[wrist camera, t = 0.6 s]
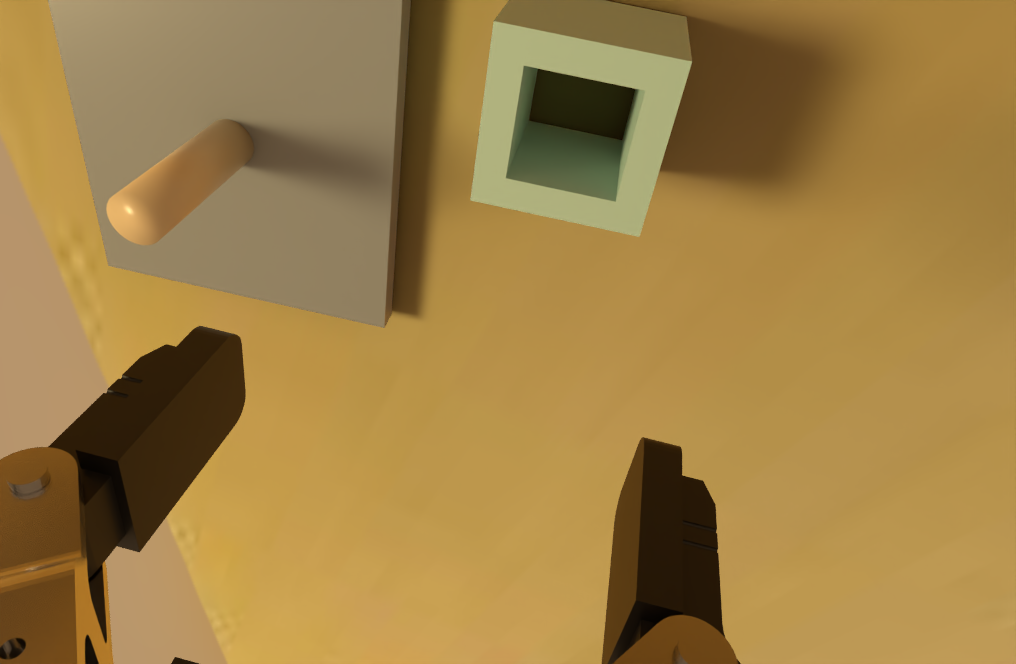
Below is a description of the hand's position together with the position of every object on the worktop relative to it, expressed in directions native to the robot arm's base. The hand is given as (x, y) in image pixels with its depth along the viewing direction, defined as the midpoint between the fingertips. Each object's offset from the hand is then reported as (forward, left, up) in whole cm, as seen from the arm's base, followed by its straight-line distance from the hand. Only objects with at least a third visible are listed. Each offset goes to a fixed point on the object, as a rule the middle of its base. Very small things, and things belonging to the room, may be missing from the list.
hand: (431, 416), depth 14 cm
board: (+4, -13, -18) cm, 22 cm away
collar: (-1, +1, -18) cm, 18 cm away
